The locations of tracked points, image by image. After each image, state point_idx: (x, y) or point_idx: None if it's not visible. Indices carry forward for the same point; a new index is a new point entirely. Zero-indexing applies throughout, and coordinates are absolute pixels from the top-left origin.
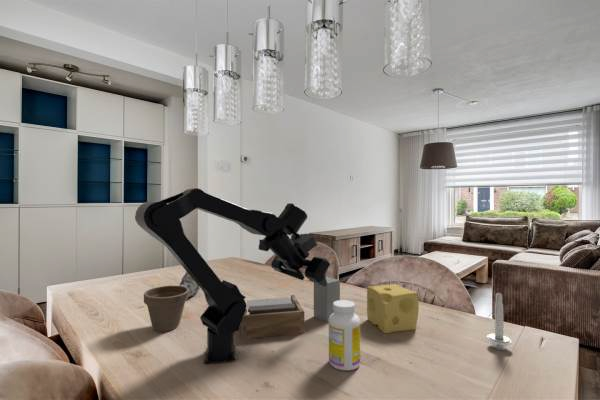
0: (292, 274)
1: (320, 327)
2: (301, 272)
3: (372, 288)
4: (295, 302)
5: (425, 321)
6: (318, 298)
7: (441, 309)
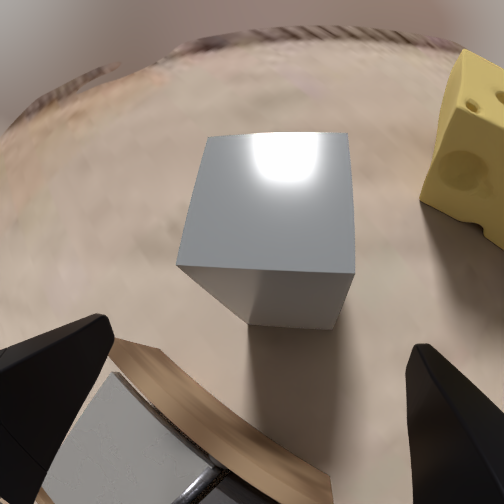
0: (47, 444)
1: (347, 394)
2: (60, 343)
3: (501, 126)
4: (195, 440)
5: None
6: (262, 306)
7: (446, 59)
